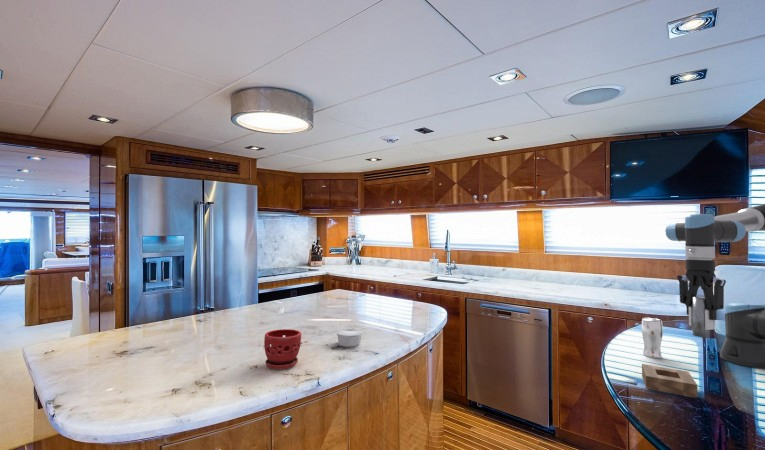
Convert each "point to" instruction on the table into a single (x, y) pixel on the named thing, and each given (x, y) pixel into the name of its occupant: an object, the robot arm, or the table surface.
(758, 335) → the robot arm
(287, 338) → the plant pot
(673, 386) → the socket block
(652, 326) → the beer glass
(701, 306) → the steel peg
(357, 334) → the ramekin
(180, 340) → the table surface
